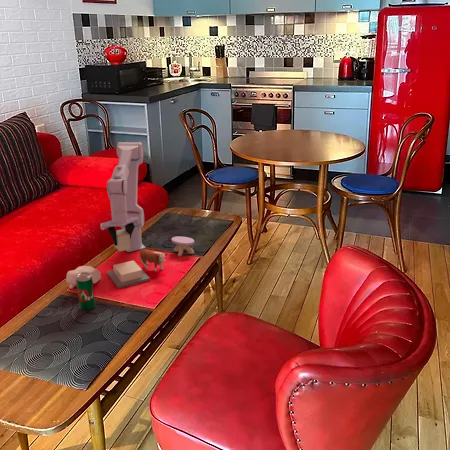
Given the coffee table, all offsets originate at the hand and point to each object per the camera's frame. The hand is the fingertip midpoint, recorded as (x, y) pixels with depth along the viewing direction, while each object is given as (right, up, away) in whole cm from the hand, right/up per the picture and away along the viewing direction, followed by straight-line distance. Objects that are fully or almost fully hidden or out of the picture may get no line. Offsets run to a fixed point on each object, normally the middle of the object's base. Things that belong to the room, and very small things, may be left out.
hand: (121, 243), depth 191 cm
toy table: (+22, -4, +15) cm, 28 cm away
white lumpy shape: (-11, -15, -12) cm, 22 cm away
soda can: (-6, -21, -25) cm, 33 cm away
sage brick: (0, -2, +1) cm, 2 cm away
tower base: (+3, -12, -5) cm, 14 cm away
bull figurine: (+12, -10, +1) cm, 16 cm away
